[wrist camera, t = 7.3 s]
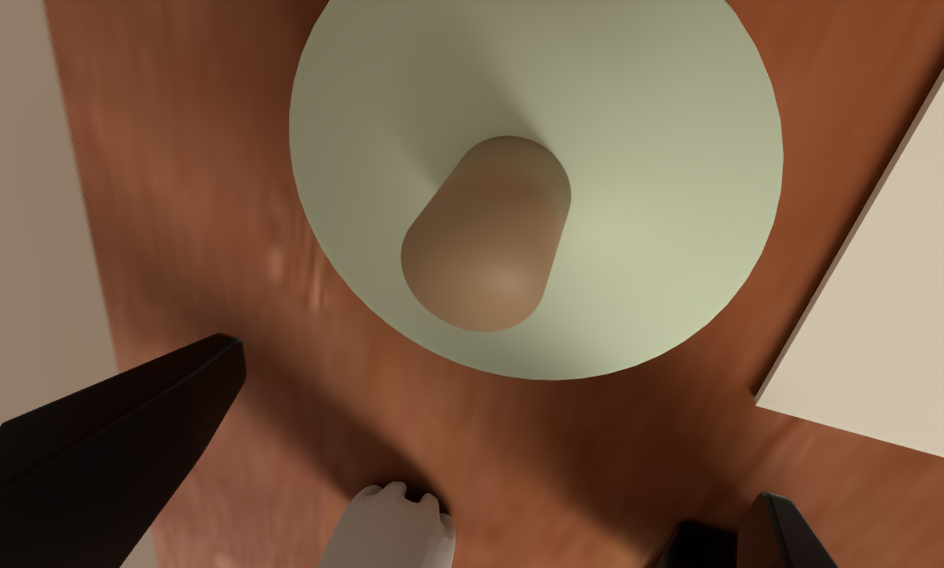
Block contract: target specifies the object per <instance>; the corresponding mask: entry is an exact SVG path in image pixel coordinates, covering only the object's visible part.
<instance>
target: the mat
mask: <svg viewBox="0 0 944 568" xmlns="http://www.w3.org/2000/svg"><path fill="white" fill-rule="evenodd" d="M754 399H755V405H756V406H759V407H762V408H766V409H770V410H773V411H777V412H781V413H784V414H788V415H791V416H795V417H799V418H802V419H806V420H810V421H813V422H817V423H821V424H824V425H828V426H832V427H835V428H839V429H843V430H846V431H850V432H853V433H857V434H861V435H864V436H868V437H872V438H875V439H879V440H883V441H886V442H890V443H894V444H897V445H901V446H905V447H908V448H912V449H915V450H919V451H923V452H926V453H930V454H934V455H937V456H941V457H944V68H943V70H942V71H941V73H940V75H939V77H938V78H937V80H936V82H935V84H934V85H933V87H932V89H931V91H930V92H929V94H928V96H927V98H926V99H925V101H924V103H923V105H922V106H921V108H920V110H919V112H918V113H917V115H916V117H915V119H914V120H913V122H912V124H911V126H910V127H909V129H908V131H907V133H906V134H905V136H904V138H903V140H902V141H901V143H900V145H899V147H898V148H897V150H896V152H895V154H894V155H893V157H892V159H891V161H890V162H889V164H888V166H887V168H886V169H885V171H884V173H883V175H882V176H881V178H880V180H879V182H878V183H877V185H876V187H875V189H874V190H873V192H872V194H871V196H870V197H869V199H868V201H867V202H866V204H865V206H864V208H863V209H862V211H861V213H860V215H859V216H858V218H857V220H856V222H855V223H854V225H853V227H852V229H851V230H850V232H849V234H848V236H847V237H846V239H845V241H844V243H843V244H842V246H841V248H840V250H839V251H838V253H837V255H836V257H835V258H834V260H833V262H832V264H831V265H830V267H829V269H828V271H827V272H826V274H825V276H824V278H823V279H822V281H821V283H820V285H819V286H818V288H817V290H816V292H815V293H814V295H813V297H812V299H811V300H810V302H809V304H808V306H807V307H806V309H805V311H804V313H803V314H802V316H801V318H800V320H799V321H798V323H797V325H796V327H795V328H794V330H793V332H792V334H791V335H790V337H789V339H788V340H787V342H786V344H785V346H784V347H783V349H782V351H781V353H780V354H779V356H778V358H777V360H776V361H775V363H774V365H773V367H772V368H771V370H770V372H769V374H768V375H767V377H766V379H765V381H764V382H763V384H762V386H761V388H760V389H759V391H758V393H757V395H756V396H755V398H754Z"/></svg>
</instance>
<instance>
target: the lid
mask: <svg viewBox="0 0 944 568" xmlns="http://www.w3.org/2000/svg"><path fill="white" fill-rule="evenodd" d="M289 145H290V153H291V161H292V170H293V174H294V178H295V182H296V186H297V190H298V194H299V198H300V201H301V203H302V206H303V209H304V212H305V214H306V217H307V220H308V222H309V224H310V226H311V228H312V230H313V232H314V234H315V236H316V238H317V240H318V243H319V245H320V246H321V248H322V250H323V251H324V253H325V254H326V256H327V257H328V259H329V261H330V262H331V264H332V265H333V267H334V268H335V270H336V271H337V272H338V274H339V275H340V276H341V277H342V279H343V280H344V281H345V282H346V284H347V285H348V286H349V287H350V289H351V290H352V291H353V292H354V293H355V294H356V295H357V296H358V297H359V298H360V299H361V300H362V301H363V302H364V303H365V304H366V305H367V306H368V307H369V308H370V309H371V310H372V311H373V312H374V313H376V314H377V315H378V316H379V317H380V318H381V319H383V320H384V321H385V322H386V323H387V324H388V325H390V326H391V327H393V328H394V329H396V330H397V331H399V332H400V333H401V334H403V335H404V336H406V337H407V338H409V339H410V340H412V341H414V342H415V343H417V344H419V345H421V346H422V347H424V348H426V349H428V350H430V351H431V352H433V353H436V354H438V355H440V356H442V357H445V358H447V359H449V360H451V361H454V362H456V363H459V364H462V365H465V366H468V367H471V368H474V369H477V370H480V371H484V372H489V373H493V374H497V375H502V376H507V377H515V378H522V379H530V380H567V379H581V378H588V377H593V376H599V375H604V374H609V373H613V372H616V371H619V370H623V369H626V368H630V367H633V366H636V365H638V364H640V363H643V362H645V361H648V360H650V359H652V358H655V357H657V356H659V355H661V354H663V353H665V352H666V351H668V350H670V349H672V348H673V347H675V346H677V345H679V344H680V343H682V342H684V341H685V340H687V339H688V338H689V337H691V336H692V335H693V334H695V333H696V332H697V331H698V330H700V329H701V328H702V327H704V326H705V325H706V324H708V323H709V322H710V321H711V320H712V319H713V318H714V317H715V316H716V315H717V314H718V313H719V312H720V311H721V310H722V309H723V308H724V307H725V306H726V305H727V304H728V303H729V301H730V300H731V299H732V298H733V296H734V295H735V294H736V292H737V291H738V290H739V289H740V287H741V286H742V285H743V283H744V282H745V281H746V280H747V278H748V276H749V274H750V273H751V271H752V269H753V267H754V266H755V264H756V262H757V260H758V259H759V257H760V255H761V253H762V251H763V248H764V246H765V243H766V241H767V238H768V236H769V233H770V231H771V228H772V226H773V223H774V219H775V214H776V210H777V205H778V201H779V197H780V192H781V182H782V169H783V145H782V133H781V121H780V116H779V112H778V108H777V104H776V100H775V96H774V92H773V87H772V84H771V81H770V79H769V76H768V74H767V72H766V69H765V67H764V64H763V62H762V60H761V57H760V55H759V52H758V50H757V48H756V46H755V44H754V43H753V41H752V39H751V38H750V36H749V34H748V33H747V31H746V30H745V28H744V26H743V25H742V23H741V21H740V20H739V18H738V17H737V15H736V13H735V12H734V10H733V8H732V7H731V6H730V5H729V4H728V2H727V1H726V0H329V2H328V4H327V5H326V7H325V9H324V10H323V12H322V13H321V15H320V17H319V18H318V20H317V21H316V23H315V25H314V26H313V29H312V31H311V33H310V36H309V38H308V40H307V42H306V45H305V47H304V49H303V52H302V54H301V57H300V61H299V65H298V68H297V72H296V75H295V79H294V83H293V89H292V96H291V104H290V111H289Z"/></svg>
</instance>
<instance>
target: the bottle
mask: <svg viewBox="0 0 944 568" xmlns="http://www.w3.org/2000/svg"><path fill="white" fill-rule="evenodd" d="M406 490H407V487H406V485H405V483H404V482H397V481H393V482H391V483H389V484H388V485H387V486H386V487H385V488H384V489H382V488H381V487H380V486H377V485H371V486H368V487H366V488H364V489H363V490H361V491H360V492H359V493H358V494H357V495H356V496H355V497H354V498H353V499H352V500H351V502H350V503H349V505H348V506H347V508H346V509H345V511H344V513H343V514H342V516H341V518H340V519H339V521H338V523H337V525H336V527H335V529H334V531H333V533H332V535H331V537H330V539H329V541H328V544H327V546H326V548H325V551H324V553H323V555H322V558H321V560H320V562H319V565H318V567H317V568H451V565H452V561H453V556H454V550H455V544H456V529H455V526H454V523H453V520H452V518H451V517H450V516H449V515H447V514H445V513H441V514H439V504H438V500H437V499H436V497H434V496H433V495H431V494H430V493H426V494H424V495H423V497H422V499H421V500H420V502H419V503H414V502H412V501H409V500H407V499H405V498H404V497H405V493H406Z"/></svg>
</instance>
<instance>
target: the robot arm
mask: <svg viewBox="0 0 944 568" xmlns="http://www.w3.org/2000/svg"><path fill="white" fill-rule="evenodd" d="M246 373H247V370H246V362H245V355H244V348H243V342H242V341H241V339H239V338H238V337H234V336H231V335H227V334H224V333H217V334H214V335H211V336H209V337H206V338H204V339H202V340H199V341H197V342H195V343H192V344H190V345H187V346H185V347H183V348H180V349H178V350H175V351H173V352H171V353H168V354H166V355H163V356H161V357H159V358H156V359H154V360H151V361H149V362H147V363H144V364H142V365H140V366H137V367H135V368H132V369H130V370H128V371H125V372H123V373H120V374H118V375H116V376H113V377H111V378H109V379H106V380H104V381H101V382H99V383H97V384H94V385H92V386H89V387H87V388H85V389H82V390H80V391H77V392H75V393H73V394H71V395H68V396H66V397H63V398H61V399H58V400H56V401H53V402H51V403H49V404H46V405H44V406H42V407H39V408H37V409H34V410H32V411H30V412H27V413H25V414H22V415H20V416H18V417H15V418H13V419H10V420H8V421H6V422H3V423H2V424H1V426H0V568H119V567H120V566H121V565H122V563H123V562H124V561H125V559H126V558H127V557H128V555H129V554H130V552H131V551H132V550H133V548H134V547H135V546H136V544H137V543H138V542H139V540H140V539H141V538H142V536H143V535H144V533H145V532H146V531H147V529H148V528H149V527H150V525H151V524H152V523H153V521H154V520H155V519H156V517H157V516H158V514H159V513H160V512H161V510H162V509H163V508H164V506H165V505H166V504H167V502H168V501H169V499H170V498H171V497H172V495H173V494H174V493H175V491H176V490H177V489H178V487H179V486H180V484H181V483H182V482H183V480H184V479H185V478H186V476H187V475H188V474H189V472H190V471H191V470H192V468H193V467H194V465H195V464H196V463H197V461H198V460H199V458H200V457H201V455H202V454H203V452H204V451H205V449H206V447H207V446H208V444H209V442H210V441H211V439H212V437H213V436H214V434H215V432H216V430H217V429H218V427H219V425H220V424H221V422H222V420H223V418H224V417H225V415H226V413H227V412H228V410H229V408H230V406H231V405H232V403H233V401H234V400H235V398H236V396H237V394H238V393H239V391H240V389H241V388H242V386H243V384H244V382H245V379H246ZM654 568H839V567H838V565H837V564H836V563H835V561H834V560H833V558H832V557H831V555H830V554H829V553H828V551H827V550H826V548H825V547H824V545H823V544H822V542H821V541H820V540H819V538H818V537H817V535H816V534H815V532H814V531H813V530H812V528H811V527H810V525H809V524H808V522H807V521H806V519H805V518H804V517H803V515H802V514H801V512H800V511H799V509H798V508H797V507H796V505H795V504H794V503H793V501H791V500H790V499H789V498H787V497H784V496H781V495H777V494H774V493H770V492H767V491H764V492H761V493H760V494H759V495H758V496H757V497H756V499H755V500H754V502H753V504H752V505H751V507H750V508H749V510H748V511H747V513H746V514H745V516H744V517H743V519H742V521H741V523H740V527H739V531H738V536H735V535H731V534H728V533H725V532H721V531H718V530H715V529H712V528H708V527H705V526H702V525H699V524H695V523H692V522H682V523H679V524H678V525H677V527H676V529H675V531H674V532H673V534H672V536H671V538H670V539H669V541H668V543H667V545H666V546H665V548H664V550H663V552H662V554H661V555H660V557H659V559H658V561H657V562H656V564H655V566H654Z"/></svg>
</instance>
